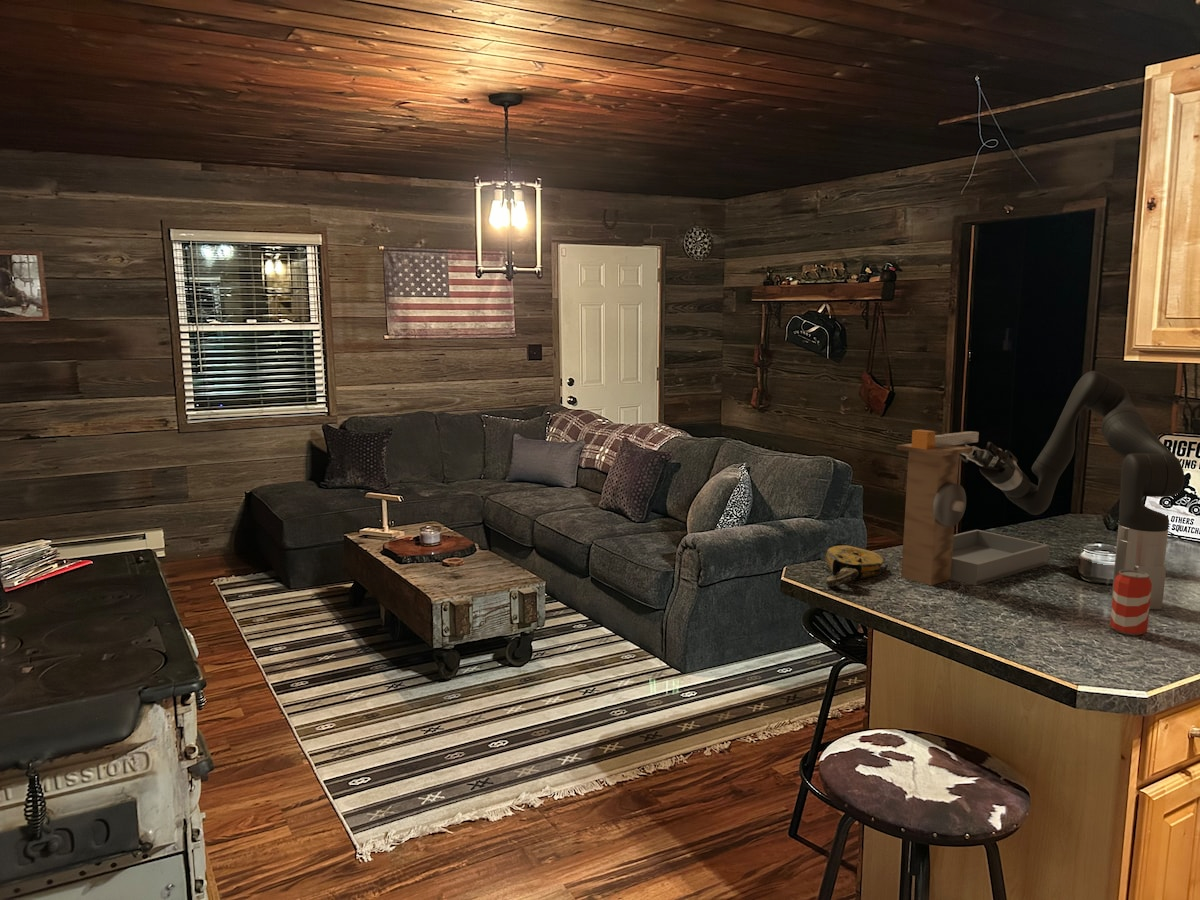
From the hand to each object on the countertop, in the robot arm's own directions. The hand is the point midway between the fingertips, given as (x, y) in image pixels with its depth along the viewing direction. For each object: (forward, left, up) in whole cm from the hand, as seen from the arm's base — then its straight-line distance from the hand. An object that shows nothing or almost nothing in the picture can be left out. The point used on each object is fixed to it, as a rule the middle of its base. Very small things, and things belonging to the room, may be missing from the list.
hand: (971, 443), depth 215 cm
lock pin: (-6, +8, 0) cm, 10 cm away
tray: (+3, -5, -32) cm, 32 cm away
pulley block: (-7, +30, -32) cm, 45 cm away
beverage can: (-44, -16, -32) cm, 56 cm away
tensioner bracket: (-9, +12, -32) cm, 35 cm away
